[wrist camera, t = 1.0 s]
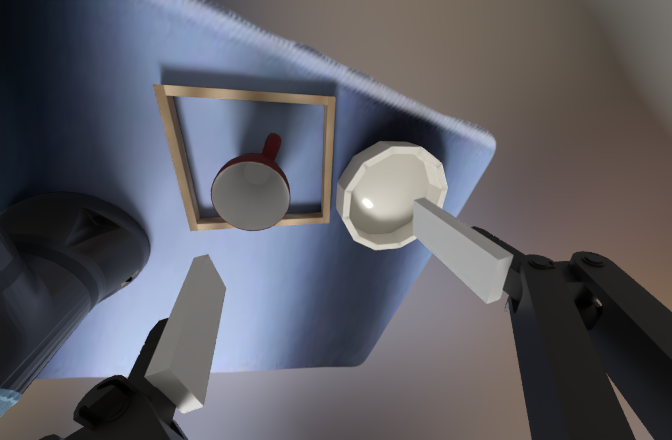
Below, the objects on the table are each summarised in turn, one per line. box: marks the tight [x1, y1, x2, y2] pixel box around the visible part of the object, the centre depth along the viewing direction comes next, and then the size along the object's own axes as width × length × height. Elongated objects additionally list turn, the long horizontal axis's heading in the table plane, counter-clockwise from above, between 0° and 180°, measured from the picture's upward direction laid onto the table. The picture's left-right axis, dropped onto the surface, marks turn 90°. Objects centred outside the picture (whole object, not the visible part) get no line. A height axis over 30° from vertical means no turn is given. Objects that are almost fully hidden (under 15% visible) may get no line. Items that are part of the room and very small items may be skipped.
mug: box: [211, 133, 290, 231], centre depth 29 cm, size 11×8×10 cm
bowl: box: [336, 141, 448, 250], centre depth 38 cm, size 17×17×4 cm
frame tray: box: [153, 84, 336, 231], centre depth 32 cm, size 20×18×2 cm
